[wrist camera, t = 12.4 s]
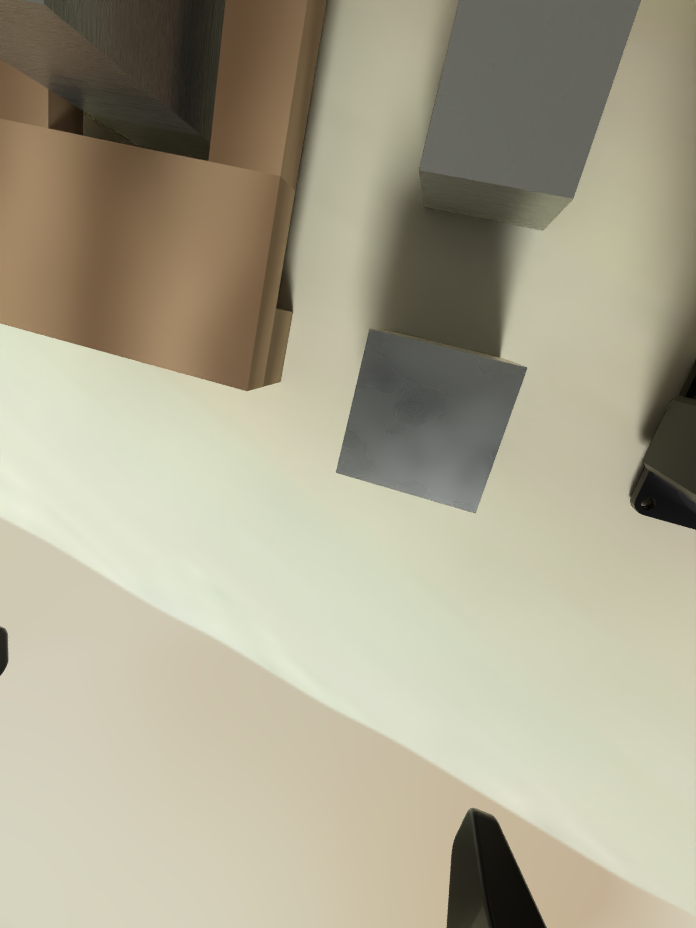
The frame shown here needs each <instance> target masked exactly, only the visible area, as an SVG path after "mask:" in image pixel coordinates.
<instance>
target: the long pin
mask: <svg viewBox="0 0 696 928" xmlns="http://www.w3.org/2000/svg"><path fill="white" fill-rule="evenodd" d="M225 2H226V0H0V59H1V60H3V61H5V62H6V63H8V64H9V65H11V66H12V67H14V68H16V69H17V70H19V71H20V72H22V73H24V74H25V75H27V76H28V77H30V78H32V79H33V80H35V81H36V82H38V83H40V84H41V85H43V86H44V87H46V88H47V89H49V90H51V91H52V92H54V93H55V94H57V95H59V96H60V97H62V98H63V99H65V100H67V101H68V102H70V103H71V104H73V105H75V106H76V107H78V108H79V109H81V110H82V111H84V112H86V113H87V114H89V115H90V116H92V117H94V118H95V119H97V120H98V121H100V122H102V123H103V124H105V125H106V126H108V127H110V128H111V129H113V130H114V131H116V132H117V133H119V134H121V135H122V136H124V137H125V138H127V139H129V140H130V141H132V142H133V143H135V144H137V145H138V146H140V147H145V148H150V149H155V150H160V151H165V152H170V153H175V154H180V155H185V156H190V157H194V158H199V159H204V160H209V151H210V142H211V132H212V123H213V114H214V104H215V95H216V86H217V76H218V67H219V58H220V48H221V39H222V30H223V20H224V11H225Z"/></svg>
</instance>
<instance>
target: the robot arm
mask: <svg viewBox="0 0 696 928" xmlns="http://www.w3.org/2000/svg"><path fill="white" fill-rule="evenodd" d="M643 463H644V465H645V468H644V471H643V473H642V475H641V477H640V479H639V481H638V483H637V485H636V487H635V489H634V491H633V494H632V496H631V499H630V503H631V506H632V507H633V508H634V509H635V510H636V511H637V512H638V513H640V514H642V515H645V516H649V517H652V518H656V519H659V520H663V521H667V522H670V523H674V524H677V525H681V526H685V527H688V528H692V529H695V530H696V362H695V364H694V366H693V368H692V370H691V372H690V374H689V376H688V378H687V380H686V383H685V385H684V387H683V389H682V391H681V393H680V395H679V397H677V398H675V399H674V400H672V401H671V402H670V404H669V406H668V408H667V410H666V412H665V414H664V417H663V419H662V421H661V423H660V425H659V427H658V429H657V431H656V433H655V436H654V438H653V440H652V442H651V444H650V446H649V448H648V450H647V452H646V455H645V457H644V459H643ZM647 497H650V498H651V502H650V503H649V505H646V506H641V503H642V501H643V500H644V499H645V498H647ZM7 663H8V634H7V631H6V629H5V628H3V627H0V675H1V674H2V673H3V671H4V670H5V668H6V666H7ZM447 928H547V927H546V925H545V923H544V921H543V919H542V916H541V914H540V912H539V910H538V908H537V906H536V904H535V901H534V899H533V897H532V895H531V892H530V890H529V888H528V886H527V884H526V882H525V880H524V878H523V875H522V873H521V871H520V869H519V867H518V865H517V862H516V860H515V858H514V856H513V853H512V851H511V849H510V847H509V845H508V842H507V840H506V838H505V836H504V834H503V832H502V829H501V827H500V825H499V823H498V821H497V820H496V818H495V817H494V816H493V815H491V814H488V813H486V812H483V811H481V810H478V809H475V808H470V809H469V810H468V811H467V813H466V816H465V818H464V819H463V822H462V824H461V826H460V828H459V830H458V832H457V834H456V836H455V839H454V843H453V848H452V855H451V871H450V885H449V900H448V915H447Z"/></svg>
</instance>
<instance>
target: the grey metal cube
mask: <svg viewBox="0 0 696 928" xmlns="http://www.w3.org/2000/svg"><path fill="white" fill-rule="evenodd" d="M640 1H641V0H459V3H458V7H457V12H456V16H455V20H454V24H453V29H452V33H451V37H450V41H449V46H448V50H447V54H446V58H445V63H444V67H443V71H442V75H441V79H440V84H439V88H438V92H437V96H436V101H435V105H434V109H433V113H432V118H431V122H430V126H429V130H428V134H427V139H426V143H425V147H424V151H423V156H422V160H421V164H420V168H419V173H420V180H421V187H422V194H423V201H424V207H427V208H432V209H437V210H442V211H447V212H452V213H457V214H462V215H467V216H473V217H478V218H483V219H488V220H493V221H498V222H503V223H508V224H513V225H518V226H523V227H528V228H533V229H538V230H544V229H545V228H546V227H547V226H548V225H549V224H550V223H551V222H552V220H553V219H554V218H555V217H556V216H557V215H558V214H559V213H560V212H561V211H562V210H563V209H564V208H565V207H566V206H567V205H568V204H569V203H570V202H571V201H572V199H573V198H574V195H575V192H576V189H577V186H578V183H579V180H580V177H581V174H582V171H583V168H584V166H585V163H586V160H587V157H588V154H589V151H590V148H591V145H592V142H593V139H594V136H595V133H596V130H597V127H598V124H599V122H600V119H601V116H602V113H603V110H604V107H605V104H606V101H607V98H608V95H609V92H610V89H611V86H612V83H613V80H614V78H615V75H616V72H617V69H618V66H619V63H620V60H621V57H622V54H623V51H624V48H625V45H626V42H627V39H628V36H629V34H630V31H631V28H632V25H633V22H634V19H635V16H636V13H637V10H638V7H639V4H640Z"/></svg>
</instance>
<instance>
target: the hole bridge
mask: <svg viewBox="0 0 696 928" xmlns="http://www.w3.org/2000/svg"><path fill="white" fill-rule="evenodd" d="M326 3H327V0H226V2H225V11H224V20H223V30H222V39H221V48H220V58H219V67H218V76H217V86H216V95H215V104H214V114H213V123H212V132H211V142H210V151H209V160H208V161H205V160H200V159H195V158H190V157H185V156H180V155H175V154H171V153H166V152H161V151H156V150H151V149H146V148H141V147H136V146H132V145H127V144H122V143H117V142H112V141H107V140H102V139H97V138H93V137H88V136H83V111H82V110H81V109H79V108H78V107H76V106H75V105H73V104H71V103H70V102H68V101H67V100H65V99H63V98H62V97H60V96H59V95H57V94H55V93H54V92H52V91H51V90H49V89H47V88H46V87H44V86H43V85H41V84H40V83H38V82H36V81H35V80H33V79H32V78H30V77H28V76H27V75H25V74H24V73H22V72H20V71H19V70H17V69H16V68H14V67H12V66H11V65H9V64H8V63H6V62H5V61H3V60H1V59H0V323H1V324H5V325H8V326H12V327H16V328H19V329H23V330H26V331H30V332H34V333H37V334H41V335H45V336H48V337H52V338H56V339H59V340H63V341H67V342H70V343H74V344H77V345H81V346H85V347H88V348H92V349H96V350H99V351H103V352H107V353H110V354H114V355H118V356H121V357H125V358H128V359H132V360H136V361H139V362H143V363H147V364H150V365H154V366H158V367H161V368H165V369H169V370H172V371H176V372H179V373H183V374H187V375H190V376H194V377H198V378H201V379H205V380H209V381H212V382H216V383H219V384H223V385H227V386H230V387H234V388H238V389H241V390H245V391H249V390H253V389H256V388H260V387H264V386H267V385H271V384H274V383H278V382H280V381H281V375H282V370H283V364H284V359H285V353H286V347H287V342H288V336H289V330H290V325H291V319H292V314H293V312H291V311H287V310H283V309H279V308H276V305H277V298H278V292H279V286H280V280H281V274H282V268H283V262H284V256H285V250H286V244H287V238H288V232H289V226H290V220H291V214H292V208H293V202H294V196H295V190H296V184H297V178H298V172H299V166H300V160H301V154H302V147H303V141H304V135H305V129H306V123H307V117H308V111H309V105H310V99H311V93H312V87H313V81H314V75H315V69H316V63H317V57H318V51H319V45H320V39H321V33H322V27H323V21H324V15H325V9H326Z"/></svg>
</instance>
